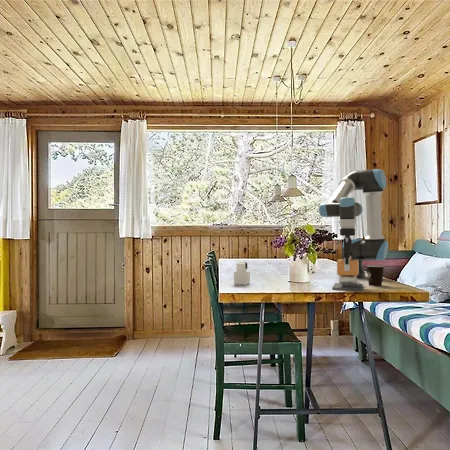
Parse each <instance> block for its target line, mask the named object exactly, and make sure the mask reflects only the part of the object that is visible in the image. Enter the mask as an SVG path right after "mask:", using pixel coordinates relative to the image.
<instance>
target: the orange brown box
mask: <svg viewBox="0 0 450 450" xmlns="http://www.w3.org/2000/svg"><path fill="white" fill-rule="evenodd" d="M358 273H359V265H358V260H351V259H350V271H344V259H343V258H342V259H341V258H338V259H337V260H336V275H338V276H339V275H358Z"/></svg>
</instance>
